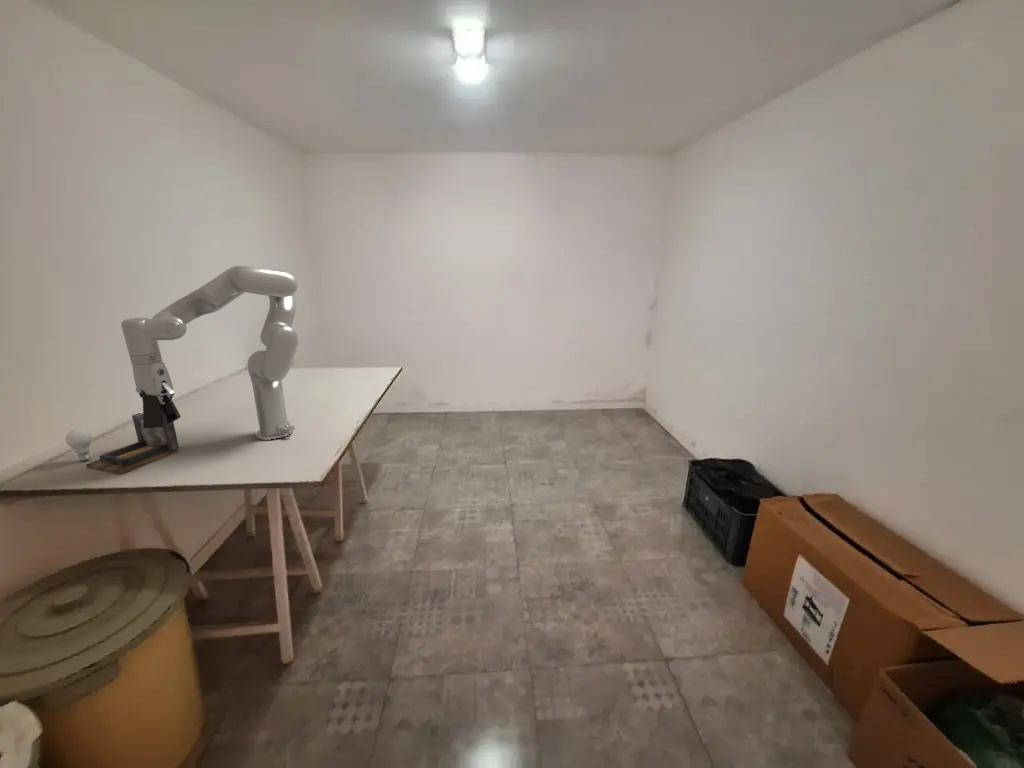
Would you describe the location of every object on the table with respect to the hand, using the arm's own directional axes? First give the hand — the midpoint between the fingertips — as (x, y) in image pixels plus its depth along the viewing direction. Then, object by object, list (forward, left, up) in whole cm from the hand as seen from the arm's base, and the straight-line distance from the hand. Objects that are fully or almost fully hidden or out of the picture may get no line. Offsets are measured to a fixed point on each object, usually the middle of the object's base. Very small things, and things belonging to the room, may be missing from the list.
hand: (160, 413), depth 148 cm
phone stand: (0, 0, -3) cm, 3 cm away
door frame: (+13, +3, -17) cm, 21 cm away
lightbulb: (+27, +9, -17) cm, 33 cm away
